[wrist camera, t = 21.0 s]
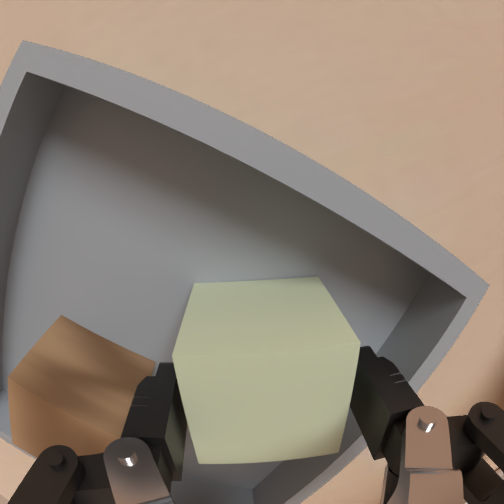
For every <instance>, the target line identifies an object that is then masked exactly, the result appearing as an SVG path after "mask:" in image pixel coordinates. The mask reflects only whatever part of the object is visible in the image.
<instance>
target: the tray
mask: <svg viewBox="0 0 504 504" xmlns="http://www.w3.org/2000/svg"><path fill="white" fill-rule="evenodd" d="M304 277H319V279H320V280H321V282H322V283H323V285H324V286H325V288H326V289H327V291H328V292H329V294H330V295H331V297H332V298H333V300H334V302H335V303H336V305H337V306H338V308H339V309H340V311H341V312H342V314H343V316H344V317H345V319H346V320H347V322H348V323H349V325H350V326H351V328H352V330H353V331H354V333H355V334H356V336H357V338H358V339H359V341H360V342H361V344H360V347H363V346H370V347H371V348H372V350H373V351H374V353H375V354H376V355H377V357H382V356H383V357H385V358H386V359H388V360H390V361H391V362H393V363H394V364H395V366H396V367H397V368H398V370H399V371H400V374H402V375H403V376H404V378H405V381H407V382H408V383H409V385H410V386H411V387H412V389H413V390H414V392H415V393H417V392H418V390H419V389H420V388H421V387H422V386H423V384H424V383H425V382H426V381H427V379H428V378H429V377H430V375H431V374H432V373H433V372H434V370H435V369H436V368H437V366H438V365H439V364H440V362H441V361H442V359H443V358H444V357H445V355H446V354H447V352H448V351H449V350H450V348H451V347H452V345H453V344H454V342H455V341H456V339H457V338H458V337H459V335H460V333H461V332H462V330H463V329H464V327H465V326H466V324H467V323H468V321H469V319H470V318H471V316H472V315H473V313H474V311H475V310H476V308H477V306H478V305H479V303H480V301H481V299H482V298H483V296H484V294H485V292H486V291H487V289H488V287H489V284H488V283H486V282H485V281H484V280H483V279H482V278H481V277H479V276H478V275H477V274H476V273H475V272H473V271H472V270H471V269H470V268H469V267H467V266H466V265H465V264H464V263H463V262H461V261H460V260H459V259H458V258H456V257H455V256H454V255H453V254H451V253H450V252H449V251H447V250H446V249H445V248H444V247H442V246H441V245H440V244H438V243H437V242H436V241H434V240H433V239H432V238H430V237H429V236H428V235H426V234H425V233H424V232H422V231H421V230H420V229H418V228H417V227H416V226H414V225H413V224H411V223H410V222H409V221H407V220H406V219H404V218H403V217H402V216H400V215H399V214H397V213H396V212H394V211H393V210H391V209H390V208H389V207H387V206H386V205H384V204H383V203H381V202H380V201H378V200H377V199H375V198H374V197H372V196H371V195H369V194H368V193H366V192H364V191H363V190H361V189H360V188H358V187H357V186H355V185H354V184H352V183H350V182H349V181H347V180H346V179H344V178H342V177H341V176H339V175H337V174H336V173H334V172H333V171H331V170H329V169H328V168H326V167H324V166H323V165H321V164H319V163H317V162H316V161H314V160H312V159H311V158H309V157H307V156H305V155H304V154H302V153H300V152H298V151H297V150H295V149H293V148H291V147H289V146H288V145H286V144H284V143H282V142H280V141H278V140H277V139H275V138H273V137H271V136H269V135H267V134H265V133H263V132H262V131H260V130H258V129H256V128H254V127H252V126H250V125H248V124H246V123H244V122H242V121H240V120H238V119H236V118H234V117H232V116H230V115H228V114H226V113H223V112H221V111H219V110H217V109H215V108H213V107H211V106H209V105H206V104H204V103H202V102H200V101H198V100H195V99H193V98H191V97H189V96H186V95H184V94H182V93H179V92H177V91H175V90H172V89H170V88H167V87H165V86H163V85H160V84H158V83H155V82H153V81H150V80H148V79H145V78H142V77H140V76H137V75H134V74H132V73H129V72H126V71H124V70H121V69H118V68H115V67H112V66H110V65H107V64H104V63H101V62H98V61H95V60H92V59H89V58H85V57H82V56H79V55H76V54H72V53H69V52H66V51H62V50H59V49H55V48H51V47H48V46H44V45H40V44H36V43H32V42H28V41H24V40H23V41H22V42H21V44H20V46H19V48H18V50H17V52H16V54H15V56H14V58H13V60H12V62H11V64H10V66H9V68H8V71H7V73H6V75H5V77H4V79H3V82H2V84H1V86H0V437H1V438H2V439H4V440H5V441H7V442H8V443H10V444H11V445H13V446H14V447H16V448H18V449H19V450H21V451H23V452H24V453H26V454H28V455H29V456H31V457H33V458H34V459H37V458H36V457H34V456H32V455H31V454H29V453H27V452H26V451H24V450H22V449H21V448H19V447H17V446H16V445H14V444H13V443H12V436H11V427H10V416H9V401H8V376H9V375H10V373H11V372H12V371H13V370H14V369H15V367H16V366H17V365H18V364H19V362H20V361H21V360H22V359H23V358H24V357H25V355H26V354H27V353H28V352H29V351H30V349H31V348H32V347H33V346H34V345H35V344H36V343H37V341H38V340H39V339H40V338H41V337H42V336H43V335H44V333H45V332H46V331H47V330H48V329H49V328H50V327H51V326H52V324H53V323H54V322H55V321H56V320H57V319H58V318H59V317H60V316H61V315H63V316H64V317H66V318H68V319H70V320H72V321H73V322H75V323H77V324H79V325H81V326H83V327H84V328H86V329H88V330H90V331H92V332H94V333H96V334H98V335H100V336H102V337H104V338H106V339H108V340H110V341H112V342H114V343H116V344H118V345H120V346H122V347H124V348H126V349H128V350H130V351H133V352H135V353H137V354H139V355H141V356H143V357H146V358H148V359H150V360H152V361H155V365H154V369H153V372H152V375H151V376H156V372H157V369H158V366H159V363H160V362H173V358H172V354H173V350H174V347H175V344H176V340H177V337H178V334H179V330H180V327H181V324H182V320H183V317H184V314H185V311H186V307H187V304H188V301H189V298H190V294H191V291H192V288H193V285H194V283H215V282H236V281H254V280H272V279H288V278H304ZM366 447H367V443H366V441H365V439H364V437H363V435H362V432H361V430H360V428H359V426H358V424H357V421H356V419H355V417H354V415H353V413H352V410H351V408H350V406H349V411H348V415H347V420H346V424H345V429H344V433H343V437H342V441H341V445H340V449H339V453H334V454H328V455H322V456H315V457H308V458H300V459H292V460H283V461H272V462H258V463H238V464H199V463H198V459H197V456H196V452H195V449H194V445H193V442H192V438H191V434H190V431H189V427H188V423H187V432H186V441H185V450H184V460H183V470H182V480H181V481H172V483H171V492H170V493H171V495H172V497H173V499H174V501H175V503H176V504H300V503H301V502H303V501H304V500H305V499H307V498H308V497H309V496H310V495H312V494H313V493H314V492H316V491H317V490H318V489H319V488H321V487H322V486H323V485H324V484H326V483H327V482H328V481H329V480H330V479H332V478H333V477H334V476H335V475H336V474H337V473H339V472H340V471H341V470H342V469H343V468H344V467H345V466H347V465H348V464H349V463H350V462H351V461H352V460H353V459H354V458H355V457H356V456H358V455H359V454H360V453H361V452H362V451H363V450H364V449H365V448H366Z"/></svg>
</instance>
